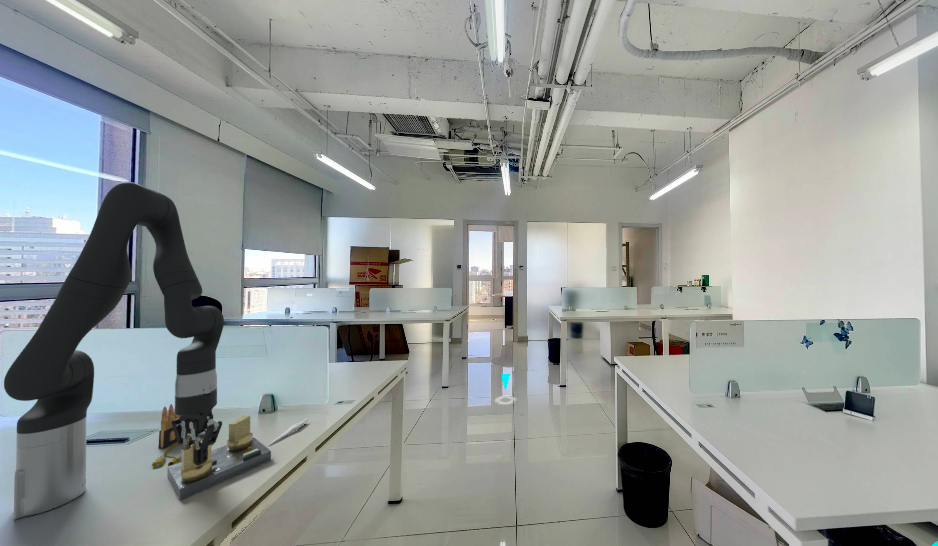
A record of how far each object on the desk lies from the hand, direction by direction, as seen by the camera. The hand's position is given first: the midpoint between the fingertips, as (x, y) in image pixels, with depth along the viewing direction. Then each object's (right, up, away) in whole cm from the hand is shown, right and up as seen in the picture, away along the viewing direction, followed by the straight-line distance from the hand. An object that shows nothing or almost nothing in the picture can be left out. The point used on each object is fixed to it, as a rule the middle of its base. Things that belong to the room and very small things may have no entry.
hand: (196, 462), depth 71 cm
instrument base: (+1, -6, +6) cm, 9 cm away
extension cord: (-17, -7, +15) cm, 24 cm away
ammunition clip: (-25, -7, +22) cm, 34 cm away
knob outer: (+1, -3, +13) cm, 13 cm away
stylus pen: (+8, -6, +24) cm, 26 cm away
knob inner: (0, -3, 0) cm, 3 cm away
